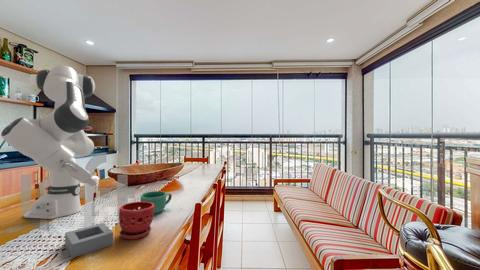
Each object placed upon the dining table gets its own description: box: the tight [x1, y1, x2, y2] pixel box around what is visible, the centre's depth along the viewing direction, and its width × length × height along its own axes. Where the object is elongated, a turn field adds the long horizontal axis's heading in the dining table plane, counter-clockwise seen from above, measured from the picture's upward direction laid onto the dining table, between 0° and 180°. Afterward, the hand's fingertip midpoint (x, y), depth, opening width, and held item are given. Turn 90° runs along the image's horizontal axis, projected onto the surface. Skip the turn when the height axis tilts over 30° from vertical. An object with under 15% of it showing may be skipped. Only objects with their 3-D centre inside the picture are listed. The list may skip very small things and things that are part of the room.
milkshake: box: [84, 175, 100, 202], centre depth 76 cm, size 5×5×10 cm
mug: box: [140, 190, 172, 215], centre depth 111 cm, size 17×13×10 cm
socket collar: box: [64, 222, 114, 259], centre depth 76 cm, size 12×12×4 cm
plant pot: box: [118, 201, 155, 240], centre depth 85 cm, size 13×13×12 cm
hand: (92, 183), depth 77 cm, fingers closed on milkshake, 4 cm apart
